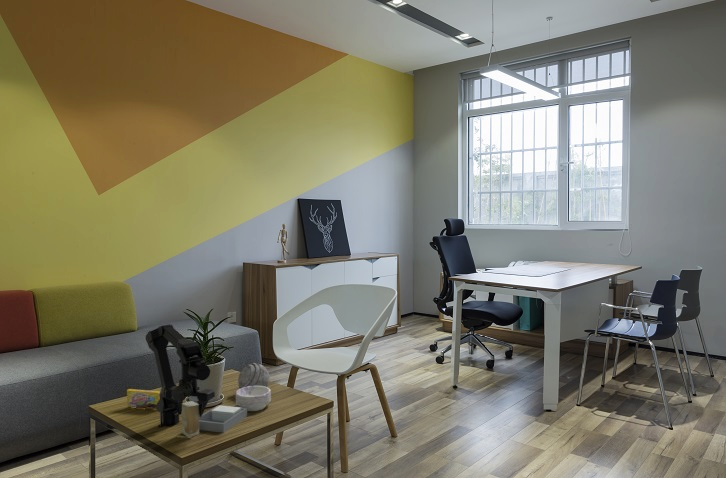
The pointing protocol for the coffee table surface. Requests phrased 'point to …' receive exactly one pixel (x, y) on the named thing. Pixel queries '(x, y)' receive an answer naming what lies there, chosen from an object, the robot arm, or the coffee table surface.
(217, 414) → the white rectangular block
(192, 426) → the skincare box
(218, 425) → the tote
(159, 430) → the coffee table surface
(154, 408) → the candy box
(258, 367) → the decorative orb
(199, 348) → the robot arm
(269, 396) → the paper bowls
